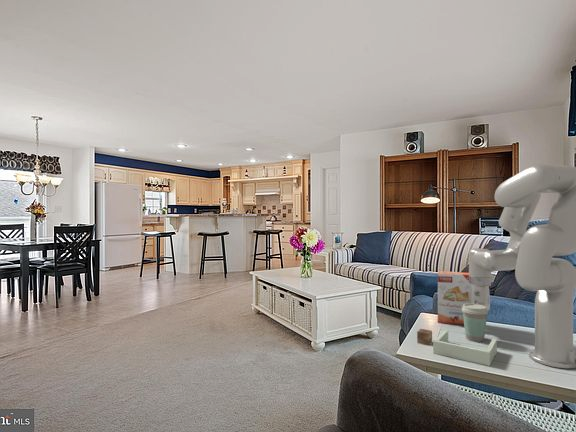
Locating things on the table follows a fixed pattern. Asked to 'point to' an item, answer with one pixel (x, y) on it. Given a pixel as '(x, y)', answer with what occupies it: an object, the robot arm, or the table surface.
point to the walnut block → (424, 336)
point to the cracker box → (453, 296)
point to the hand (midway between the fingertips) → (480, 328)
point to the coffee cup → (475, 321)
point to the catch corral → (464, 350)
